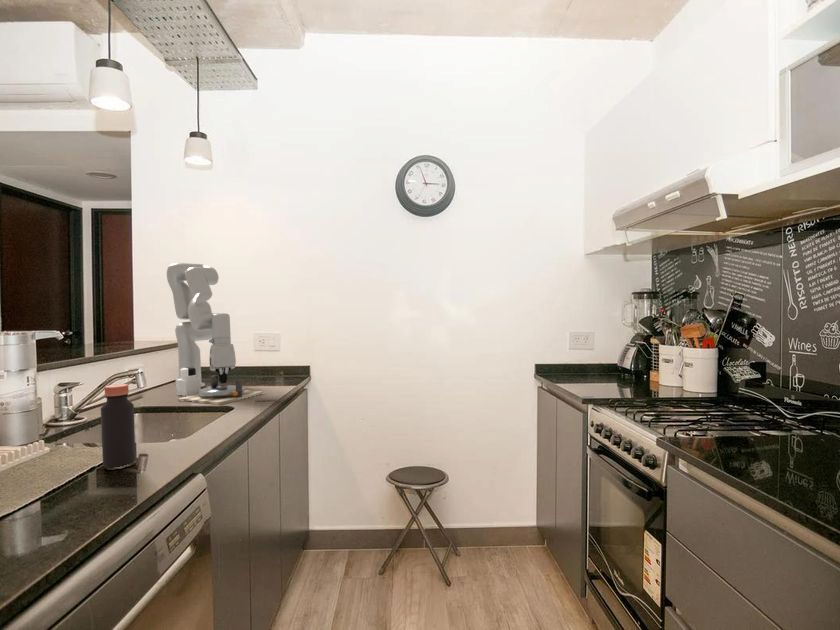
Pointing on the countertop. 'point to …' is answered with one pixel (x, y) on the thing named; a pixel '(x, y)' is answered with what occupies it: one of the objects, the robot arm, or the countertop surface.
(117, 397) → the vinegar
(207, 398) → the base board
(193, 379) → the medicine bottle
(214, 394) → the flange plate
